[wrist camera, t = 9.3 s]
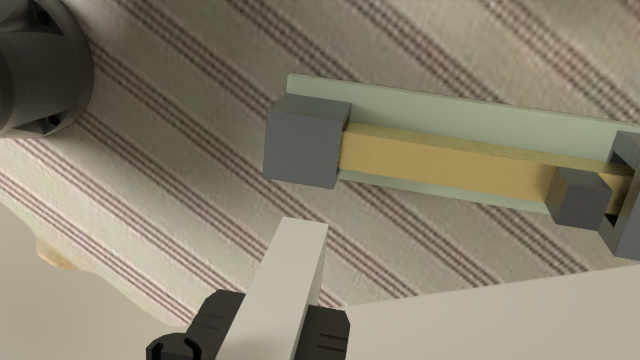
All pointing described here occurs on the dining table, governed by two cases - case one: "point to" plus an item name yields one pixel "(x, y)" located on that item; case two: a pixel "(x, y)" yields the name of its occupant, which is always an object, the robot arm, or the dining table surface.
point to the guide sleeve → (304, 140)
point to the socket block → (636, 214)
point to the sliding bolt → (491, 170)
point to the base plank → (464, 129)
